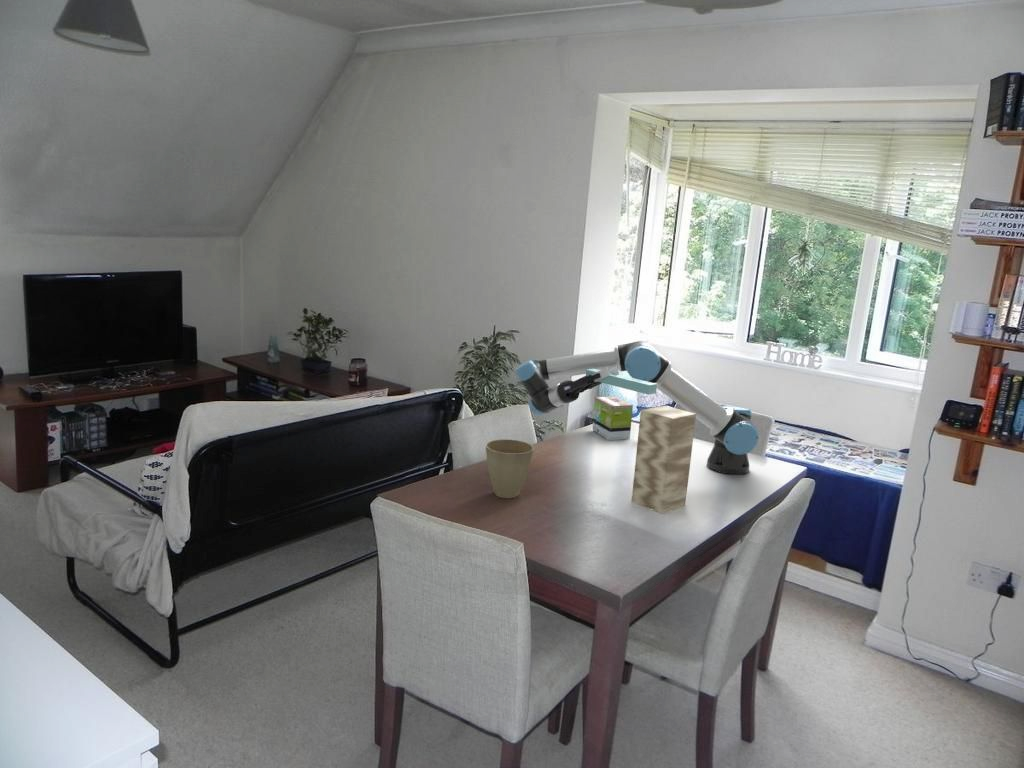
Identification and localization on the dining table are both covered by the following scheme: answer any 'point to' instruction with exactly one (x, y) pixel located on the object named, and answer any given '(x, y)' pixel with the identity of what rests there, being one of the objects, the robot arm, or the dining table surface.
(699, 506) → the dining table surface
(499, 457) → the plant pot
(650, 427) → the wooden stand
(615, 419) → the tea box
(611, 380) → the teal block
